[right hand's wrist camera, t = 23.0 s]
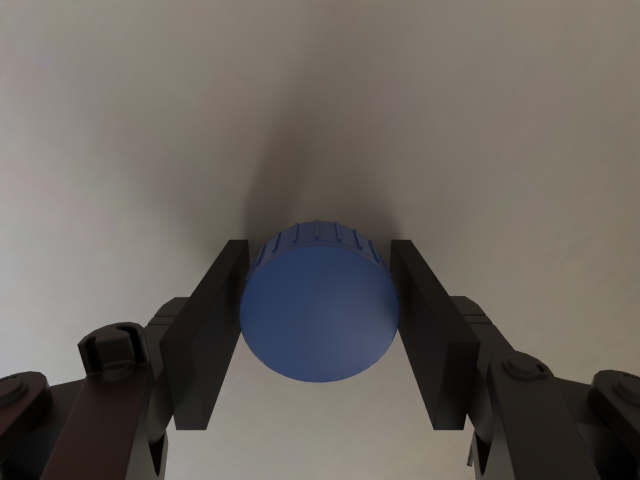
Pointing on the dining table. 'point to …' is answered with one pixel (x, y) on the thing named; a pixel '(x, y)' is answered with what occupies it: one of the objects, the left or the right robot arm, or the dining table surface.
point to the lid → (319, 303)
